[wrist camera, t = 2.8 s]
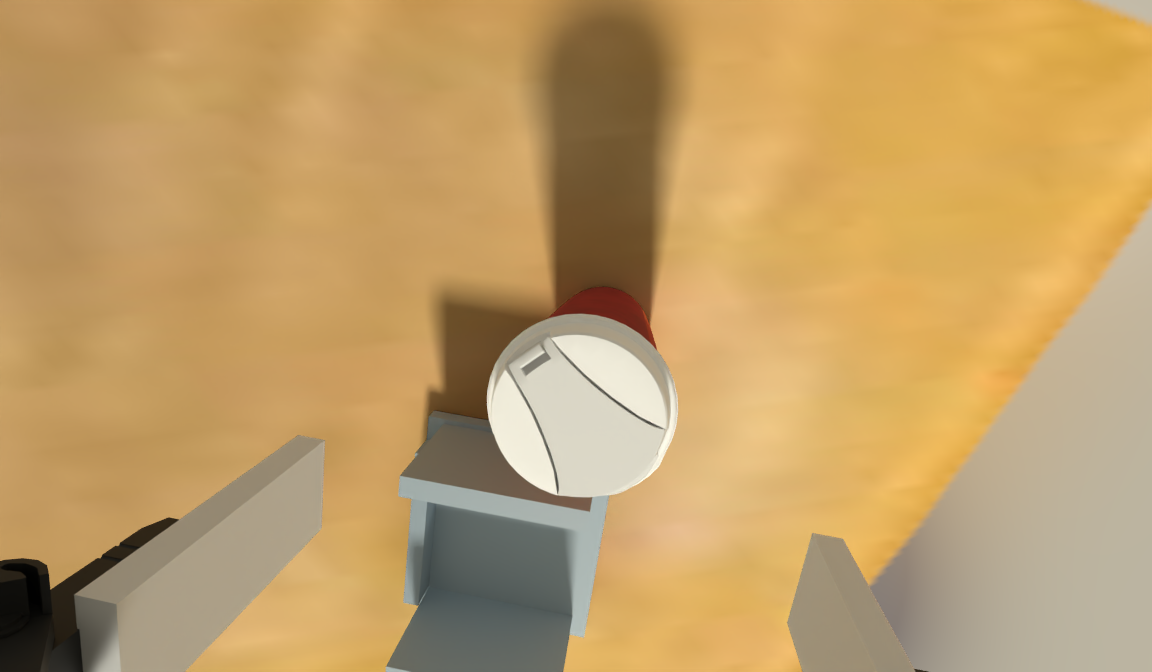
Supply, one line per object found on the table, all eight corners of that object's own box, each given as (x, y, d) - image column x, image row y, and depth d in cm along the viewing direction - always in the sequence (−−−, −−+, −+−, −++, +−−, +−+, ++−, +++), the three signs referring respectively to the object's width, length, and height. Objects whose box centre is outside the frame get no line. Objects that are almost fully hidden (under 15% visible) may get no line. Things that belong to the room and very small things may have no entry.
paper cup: (515, 316, 37) (438, 393, 23) (618, 242, 35) (600, 280, 21) (589, 415, 38) (558, 546, 24) (693, 349, 36) (722, 450, 22)
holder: (434, 410, 39) (381, 467, 31) (617, 443, 38) (610, 510, 30) (418, 592, 42) (368, 684, 35) (585, 626, 42) (571, 728, 34)
